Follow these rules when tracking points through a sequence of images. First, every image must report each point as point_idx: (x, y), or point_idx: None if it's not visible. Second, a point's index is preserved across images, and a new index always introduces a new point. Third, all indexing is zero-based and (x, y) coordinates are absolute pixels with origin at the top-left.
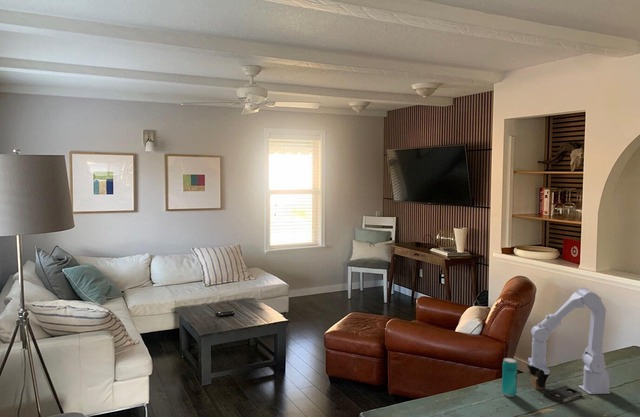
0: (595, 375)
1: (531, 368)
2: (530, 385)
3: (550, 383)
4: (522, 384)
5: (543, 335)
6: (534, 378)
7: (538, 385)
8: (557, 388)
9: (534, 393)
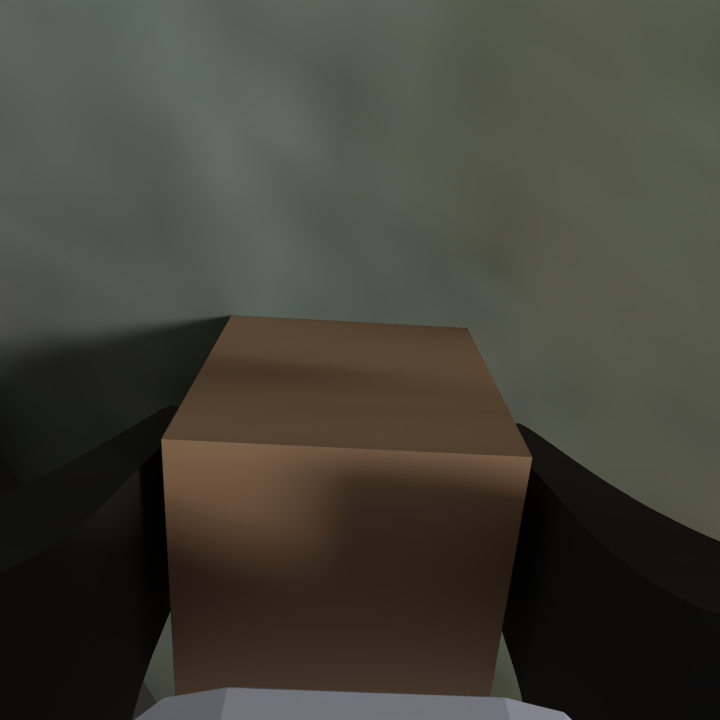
0: None
1: (645, 655)
2: (458, 328)
3: None
4: (551, 169)
5: None
6: (259, 426)
7: None
8: None
9: (25, 172)
